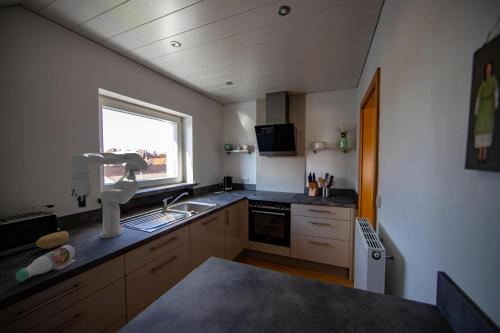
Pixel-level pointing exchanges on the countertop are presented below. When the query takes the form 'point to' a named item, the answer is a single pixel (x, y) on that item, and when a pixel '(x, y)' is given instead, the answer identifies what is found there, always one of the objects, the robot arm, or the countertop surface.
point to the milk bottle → (47, 262)
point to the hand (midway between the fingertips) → (82, 207)
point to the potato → (52, 240)
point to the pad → (64, 264)
